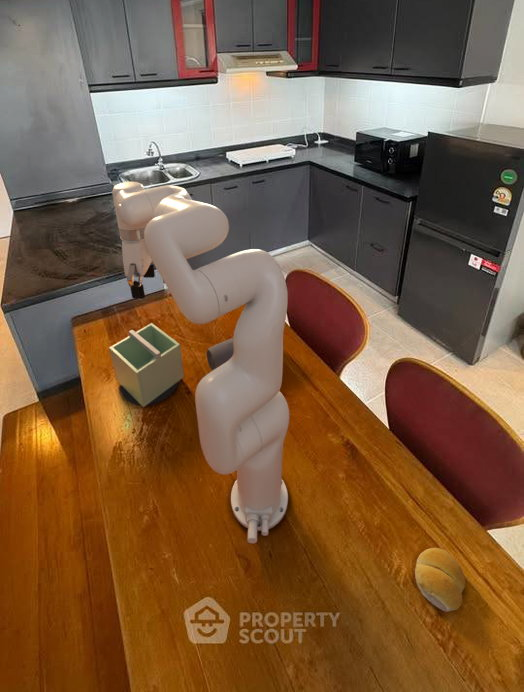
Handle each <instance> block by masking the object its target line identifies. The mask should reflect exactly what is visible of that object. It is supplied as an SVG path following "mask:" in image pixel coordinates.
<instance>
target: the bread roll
mask: <svg viewBox="0 0 524 692" xmlns="http://www.w3.org/2000/svg"><path fill="white" fill-rule="evenodd" d="M414 577H415V582H416V586H417V587H418V590H419V591H420V593H421V594H422V596H423V597H424V598H425V599H426V600H427V601H429V602H430V603H431V604H432V605H433V606H434V607H436V608H438V609H439V610H441V611H443V612H445V613H449V612H451V611H456V610H458V609H459V608H460V607H461V606H462V603H463V594H462V593H463V591H464V589H465V588H466V577H465V573H464V572H463V569H462V567H461V565H460V564H459V562H458V561H457V560H456V558H455V557H454V556H453V555H452V554H450V553H449V552H447V551H446V550H445V549H443V548H440V547H430V548H427V549H425V550H423V551H422V552H421V553H420V554H419V555H418V556H417V558H416V563H415V568H414Z"/></svg>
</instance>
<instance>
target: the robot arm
mask: <svg viewBox="0 0 524 692" xmlns="http://www.w3.org/2000/svg"><path fill="white" fill-rule="evenodd" d="M111 193H112V200H113V205H114V209H115V216H116V220H117V221H116V222H117V228H118V232H119V237H120V240H121V241H122V242H121V255H122V265H123V271H124V276H125V277H126V281H127V283H128V284H127V285H128V286H129V288H130V291H131V292H130V293H131V298H132V299H145V297H146V294H145V288H144V284H142V283H143V278H150V279H151V278H155V277H156V274H155V273H156V272H155V269H156V270H157V272H158V274H159V275H160V277H161V279H162V281H163V282H164V284H165V286H166V287H167V290H168V291H169V293H170V295H171V297H172V299H173V300H174V302H175V304H176V306H177V308H178V309H179V311H180V312H181V314H182V315H183V316H184V317H185V318H186V320H188V321H189V322H190V323H192V324H194V325H205V324H208V323H211V322H213V321H215V320H216V319H218V318H221V317H223V316H225V315H227V314H229V313H230V312H232V311H234V310H236V309H238V308H240V307H242V306H243V305H244V307H243V310H242V311H241V313H240V315H239V318H238V319H237V322H236V325H235V327H234V330H233V336H232V338H233V345H234V353H233V356H232V357H231V358H230V359H229V360H228V361H227V362H226V363H224V364H222V365H221V366H219V367H218V368H216V369H214V370H213V371H212V370H211V371H209V373H208V372H207V374H205V375H204V376H203V377H202V378H201V379H200V380H199V382H198V384H197V385H196V389H195V393H194V399H195V400H194V401H195V402H194V403H195V411H196V419H197V428H198V436H199V444H200V447H201V448H200V449H201V451H202V454H203V456H204V459H205V461H206V463H207V464H208V466H209V467H210V468H211V469H212V470H213V471H214V472H215V473H217V474H219V475H223V476H225V475H230V474H233V473H235V472H236V480H235V481H234V483H233V486H232V488H231V493H230V505H231V510H232V511H233V512H232V513H233V516H234V517H235V518H236V520H237V522H239V523H240V524H241V525H242V526H243V527H245V528H246V529H247V543H249V544H257V542H258V532H261V536H264V537H266V536H267V537H268V536H269V530H270V529H272V528H274V527H275V526H276V525H278V524H279V523H280V522H281V521H282V519H284V516H285V514H286V512H287V509H288V503H289V493H288V489H287V488H288V487H287V486H286V483H285V481H284V480H283V477H282V476H283V457H284V455H283V454H284V442H285V440H286V436H287V432H288V430H289V425H290V408H289V404H288V401H287V399H286V397H285V396H284V395H283V393H282V392H281V391H280V390H281V387H282V385H283V384H282V383H283V371H284V346H283V345H284V331H285V324H286V320H287V311H288V304H289V303H288V299H289V296H288V295H289V294H288V286H287V282H286V278H285V275H284V272H283V270H282V268H281V266H280V264H279V263H278V262H277V260H276V258H274V256H273V255H272V254H270V253H269V252H267V251H266V250H263V249H258V248H251V249H245V250H244V249H243V250H240V251H238V252H234V253H232V254H229V255H226V256H225V257H222V258H220V259H217V260H216V261H213V262H210V263H207V264H206V265H203V266H200V267H198V268H195V269H193V268H192V266H191V265H190V263H189V262H188V260H189V259H191V258H194V257H196V256H198V255H201V254H204V253H207V252H209V251H212V250H214V249H215V248H217V247H219V246H221V244H222V243H224V241H225V240H226V238H227V237H228V234H229V230H230V223H229V219H228V216H226V214H225V212H223V211H222V209H220V208H219V207H217V206H214V205H213V204H209V203H205V202H202V201H197V200H193V199H192V197H191V195H190V193H189V192H188V191H187V190H186V189H185V188H184V187H182V186H178V185H170V184H169V185H161V186H157V187H152V188H149V189H145V187H144V185H143V183H140V182H137V181H123V182H120V183H118V184H116V185H114V187H113V188H112V190H111ZM135 278H138V280H135Z"/></svg>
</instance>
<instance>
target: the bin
mask: <svg viewBox="0 0 524 692" xmlns="http://www.w3.org/2000/svg"><path fill="white" fill-rule="evenodd" d="M128 334H129V335H128V336H126V337H125V338H123V339H121V340H119V341H118V342H116V343H115V344H113V345H111V346H109V348H108V349H109V352H110V358H111V362H112V366H113V371H114V376H115V379H116V381H117V383H119V384H120V386H121V385H122V386H123V387H124V388H125V389H126V390H127V391H128V392H129V393H130V394H131V395H132V396H133V397H134V398H135V399H136V400H137V401H138V402H139V403H140V404H141V405H142V406H141V407H142V408H144V407H147V406H146V405H147V404H149V403H150V402H151V401H153V400H154V399H155V398H157V397H158V396H159V395H161V394H162V393H163V392H165V391H166V390H167V389H169V388H170V387H171V386H173V385H174V384H175V383H177V382H178V381H179V380H180V381H181V380H182V379H184V378H185V375H184V374H185V373H184V366H183V357H182V350H181V349H182V348H181V344H180V342H177V341H176V340H175V339H174V338H173V337H171V336H170V335H168V334H167V333H166V332H164V331H163V330H162V329H160V328H159V327H158V326H156V325H155V324H154V323H153V322H151V323H149V324H147V325H146V326H143V327H142V328H140V329H139V330H137V331H135V330H134V329H131V330H129V331H128ZM153 357H156V358H155V359H154V360H152V361H151V359H152V358H153ZM150 361H151V362H150ZM180 381H179V382H180Z"/></svg>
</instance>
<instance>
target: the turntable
mask: <svg viewBox="0 0 524 692" xmlns="http://www.w3.org/2000/svg"><path fill="white" fill-rule="evenodd" d="M180 381H181V380H179V381H178V382H177V383H175V384H174V385H173V386H171V387H170V388H169V389H167V390H166V391H165V392H163V393H162V394H161V395H159V396H158V397H157V398H155V399H154V400H153V401H151V402H150V403H149V404H147V405H146V406H145V407H149V406H153V405H156V404H157V405H158V403H162V402H164V401H165V400H166V399H168V398H170V397H171V395H173V393H174V392H175V391H176V390H177V388H178V387H179V384H180ZM120 392H121V394H122V397H123V398H124V400H125V401H126V402H128V403H129V404H130V405H134V406H138V407H143V406H142V405H141V404H140V403H139V402H138V401H137V400H136V399H135V398H134V397H133V396H132V395H131V394H130V393H129V392H128V391H127V390H126V389H125V388H124V387H123V386H122V385H121V384H120Z"/></svg>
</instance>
